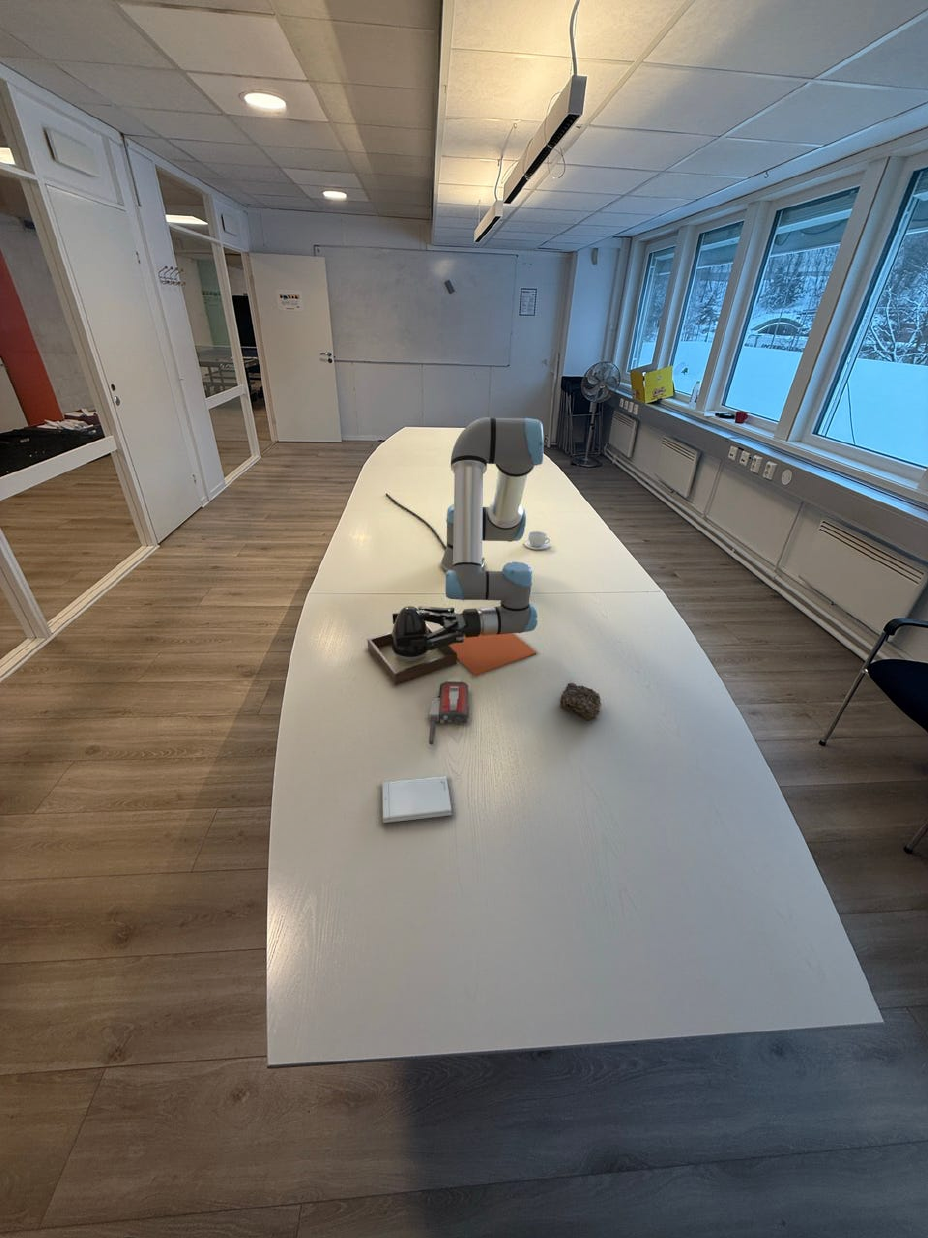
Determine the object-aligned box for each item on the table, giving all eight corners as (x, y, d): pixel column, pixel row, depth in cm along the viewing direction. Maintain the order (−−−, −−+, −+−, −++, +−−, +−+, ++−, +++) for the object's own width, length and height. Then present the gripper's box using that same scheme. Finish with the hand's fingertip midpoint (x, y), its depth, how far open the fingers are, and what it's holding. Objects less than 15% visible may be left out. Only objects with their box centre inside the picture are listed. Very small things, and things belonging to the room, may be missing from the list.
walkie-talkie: (432, 687, 123) (426, 748, 106) (432, 673, 120) (425, 733, 103) (468, 688, 123) (467, 749, 105) (469, 674, 120) (468, 734, 103)
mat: (436, 638, 141) (436, 637, 141) (494, 620, 150) (494, 618, 150) (474, 676, 127) (474, 675, 127) (536, 653, 136) (536, 652, 136)
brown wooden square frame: (368, 649, 136) (367, 639, 134) (425, 632, 144) (425, 622, 142) (395, 685, 123) (394, 674, 121) (456, 664, 131) (457, 653, 129)
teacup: (521, 547, 197) (522, 536, 195) (528, 539, 205) (529, 528, 203) (545, 552, 194) (547, 541, 192) (551, 543, 202) (553, 532, 199)
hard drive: (446, 775, 98) (382, 781, 96) (451, 810, 91) (382, 818, 89) (446, 781, 98) (382, 787, 97) (451, 816, 91) (383, 824, 90)
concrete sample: (591, 730, 111) (595, 713, 108) (549, 713, 116) (552, 697, 113) (608, 702, 119) (612, 685, 117) (568, 687, 124) (571, 671, 121)
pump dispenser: (425, 670, 128) (424, 620, 120) (386, 665, 130) (383, 615, 122) (435, 648, 137) (434, 600, 129) (399, 643, 138) (396, 595, 131)
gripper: (488, 659, 124) (399, 668, 120) (469, 612, 143) (391, 619, 139) (489, 633, 120) (397, 642, 116) (469, 589, 140) (390, 595, 136)
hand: (394, 630), depth 128 cm, fingers open, 10 cm apart
